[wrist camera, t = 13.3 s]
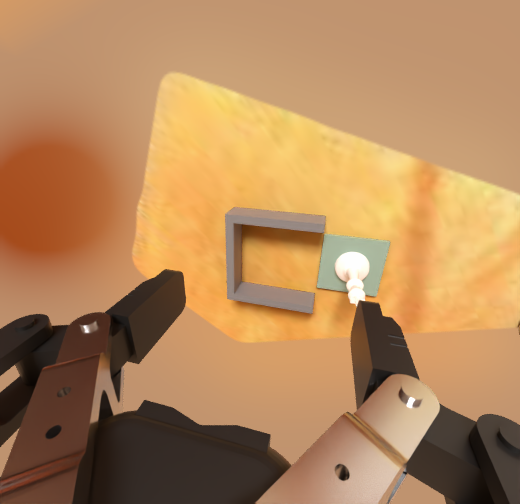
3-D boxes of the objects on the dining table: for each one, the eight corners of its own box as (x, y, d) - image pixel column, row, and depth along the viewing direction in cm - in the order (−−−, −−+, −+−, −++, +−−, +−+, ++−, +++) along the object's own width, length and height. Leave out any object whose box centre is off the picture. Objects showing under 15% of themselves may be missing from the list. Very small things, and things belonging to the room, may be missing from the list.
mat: (389, 240, 37) (390, 242, 36) (375, 294, 41) (376, 296, 40) (324, 233, 39) (324, 235, 38) (316, 285, 43) (316, 287, 42)
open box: (325, 215, 38) (325, 224, 34) (313, 299, 44) (312, 313, 40) (234, 207, 41) (225, 214, 37) (235, 286, 47) (227, 298, 43)
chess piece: (367, 282, 40) (378, 324, 31) (333, 279, 41) (334, 320, 32) (371, 252, 38) (384, 288, 29) (335, 250, 39) (337, 285, 30)
